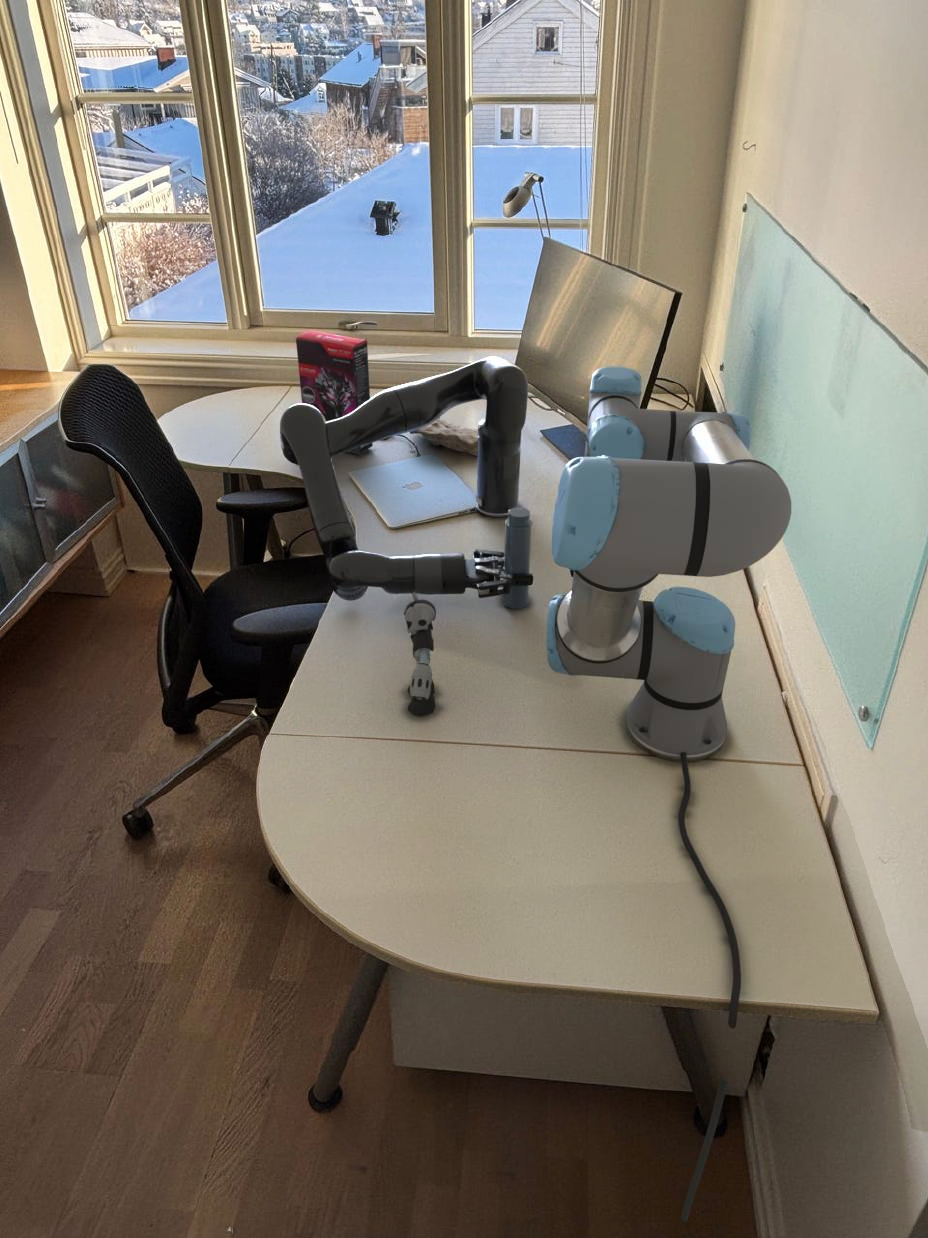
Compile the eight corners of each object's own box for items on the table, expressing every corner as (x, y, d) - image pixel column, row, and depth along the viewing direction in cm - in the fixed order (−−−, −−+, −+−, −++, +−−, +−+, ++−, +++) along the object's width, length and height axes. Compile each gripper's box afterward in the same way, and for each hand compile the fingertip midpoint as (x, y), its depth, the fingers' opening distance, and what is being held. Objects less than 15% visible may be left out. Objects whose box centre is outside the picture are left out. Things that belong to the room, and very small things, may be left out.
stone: (393, 439, 229) (398, 415, 226) (412, 430, 242) (417, 408, 240) (473, 463, 225) (479, 439, 223) (488, 453, 238) (493, 431, 236)
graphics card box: (303, 443, 234) (292, 335, 219) (319, 434, 239) (310, 328, 224) (359, 456, 228) (353, 346, 212) (374, 446, 233) (369, 338, 217)
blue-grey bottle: (531, 598, 174) (537, 509, 164) (521, 611, 171) (526, 520, 160) (508, 592, 176) (512, 503, 166) (498, 604, 173) (501, 514, 162)
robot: (438, 740, 141) (437, 632, 129) (406, 740, 140) (402, 633, 129) (435, 663, 157) (434, 561, 146) (406, 664, 157) (403, 562, 145)
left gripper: (437, 571, 177) (525, 569, 178) (440, 612, 165) (535, 610, 166) (437, 537, 173) (527, 535, 174) (440, 576, 161) (537, 574, 162)
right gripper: (661, 457, 148) (644, 580, 161) (547, 456, 148) (540, 579, 161) (669, 478, 141) (651, 604, 155) (551, 477, 141) (542, 603, 155)
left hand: (530, 571), depth 170 cm, fingers closed on blue-grey bottle, 4 cm apart
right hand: (594, 591), depth 158 cm, fingers closed on lid, 5 cm apart
